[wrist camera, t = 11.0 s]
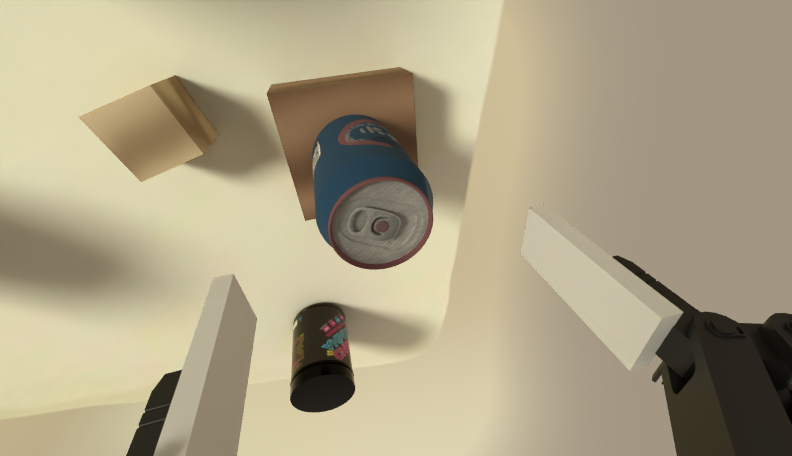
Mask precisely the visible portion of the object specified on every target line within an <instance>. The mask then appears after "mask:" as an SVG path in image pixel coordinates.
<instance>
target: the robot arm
mask: <svg viewBox="0 0 792 456" xmlns="http://www.w3.org/2000/svg"><path fill="white" fill-rule="evenodd" d="M521 254H522V255H523V257H524V258H525V259H526V260H527V261H528V262H529V263H530V264H531V265H532V266H533V267H534V268H535V269H536V271H538V273H539V274H540V275H541V276H542V277H543V278H544V279H545V280H546V281H547V282H548V283H549V284H550V285H551V287H552V288H553V289H554V290H555V291H556V292H557V293H558V294H559V295H560V296H561V297H562V298H563V299H564V301H565V302H566V303H567V304H568V305H569V306H570V307H571V308H572V309H573V310H574V311H575V312H576V313H577V314H578V316H579V317H580V318H582V320H583V321H584V322H585V323H586V324H587V325H588V326H589V327H590V329H591V330H592V331H593V332H594V333H595V334H596V335H597V336H598V337H599V338H600V339H601V340H602V341H603V342H604V344H605V345H606V346H607V347H608V348H609V349H610V350H611V351H612V352H613V353H614V354H615V355H616V356H617V358H618V359H619V360H620V361H621V362H622V363H623V364H624V365H625V366H626V367H627V368H628V369H629V370H633V369H636V368H639V367H643V366H646V365H648V364H649V363H650V362H651V360H652V359H653V357H654V355H655V354H656V355H657V356H658V357H660V358H661V359H662V360H663V361H662V363H661V364H660V366H659V367H658V369H657V370H656V371H655V373H654V374H653V377H652V381H654V382H656V381H657V380H658V379H659V377H660V376H661V374H662V379H663V382H662V384H663V385H664V389H665V394H666V400H667V405H668V410H669V416H670V421H671V427H672V431H673V437H674V442H675V448H676V453H677V456H792V314H787V313H775V314H773V315H772V316H770V317H769V318H768V319H767V320H766V322H765V323H764V324H751V323H748V324H747V323H737V322H736V321H734V320H732V319H730V318H728V317H726V316H723V315H720V314H717V313H712V312H699V311H698V310H697V309H695V308H694V307H692V306H691V305H690V304H688V303H687V302H686V301H684V300H683V299H682V298H680V297H679V296H678V295H676V294H675V293H673V292H672V291H671V290H669V289H668V288H667V287H665V286H664V285H663V284H661V283H660V282H659V281H656V279H654V278H653V277H651V276H650V275H649V274H646V273H645V271H644V270H642V269H641V268H640V267H638V266H637V265H635V264H634V263H633V262H631V261H628V260H626V259H624V258H622V257H620V256H613V257H611V256H610V255H609V254H607V253H606V252H605V251H603V250H602V249H601V248H600V247H598V246H597V245H596V244H594V243H593V242H592V241H590V240H589V239H588V238H587V237H585V236H584V235H583V234H581V233H580V232H579V231H577V230H576V229H575V228H574V227H572V226H571V225H570V224H568V223H567V222H566V221H564V220H563V219H562V218H561V217H559V216H558V215H557V214H555V213H554V212H553V211H552V210H550V209H549V208H547V207H546V206H545V205H540V206H535V207H531V208H529V211H528V217H527V222H526V227H525V233H524V238H523V244H522V249H521ZM256 322H257V318H256V316H255V314H254V312H253V310H252V308H251V306H250V304H249V302H248V300H247V299H246V297H245V295H244V293H243V291H242V289H241V287H240V285H239V283H238V282H237V280H236V278H235V276H234V274H230V275H225V276H221V277H217V278H213V280H212V283H211V286H210V289H209V292H208V295H207V298H206V301H205V304H204V307H203V310H202V313H201V316H200V319H199V322H198V325H197V328H196V331H195V334H194V337H193V340H192V343H191V346H190V349H189V351H188V354H187V357H186V360H185V363H184V366H183V369H182V370H179V371H176V372H172V373H168V374H165V375H164V376H163V378H162V379H161V380H160V382H159V383H158V384H157V386H156V387H155V388H154V390H153V391H152V393H151V395H150V398H149V400H148V403H147V405H146V408H145V413H143V415H142V418H141V420H140V423H139V428H138V429H137V430H136V433H135V435H134V438H133V440H132V443H131V445H130V448H129V450H128V453H127V455H126V456H237V451H238V444H239V437H240V431H241V423H242V417H243V410H244V403H245V397H246V389H247V383H248V376H249V369H250V363H251V356H252V349H253V342H254V335H255V328H256Z"/></svg>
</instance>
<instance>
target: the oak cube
mask: <svg viewBox="0 0 792 456" xmlns="http://www.w3.org/2000/svg"><path fill="white" fill-rule="evenodd" d="M79 118H80V119H81V120H82V121H83V122H84V123H85V124H86V125H87V126H88V127H89V129H90V130H91V131H92V132H93V133H94V134H95V135H96V136H97V137H98V138H99V139H100V140H101V141H102V142H103V143H104V144H105V145H106V146H107V147H108V148H109V149H110V150H111V151H112V152H113V153H114V154H115V155H116V156H117V157H118V159H119V160H120V161H121V162H122V163H123V164H124V165H125V166H126V167H127V168H128V169H129V170H130V171H131V172H132V173H133V174H134V175H135V176H136V177H137V178H138V179H139V180H140V181H141V182H142V181H144V180H147V179H149V178H151V177H153V176H156V175H158V174H160V173H162V172H165V171H167V170H169V169H171V168H174V167H176V166H178V165H180V164H183V163H185V162H187V161H189V160H192V159H194V158H196V157H198V156H201V155H203V154H204V153H205V152H206V150H207V149H208V148H209V147H210V145H211V144H212V143H213V141H214V140H215V139H216V138H217V136H218V133H217V132H216V131H215V129H214V128H213V126H212V125H211V124H210V122H209V121H208V120H207V118H206V117H205V115H204V114H203V113H202V111H201V110H200V108H199V107H198V106H197V104H196V103H195V101H194V100H193V99H192V97H191V96H190V95H189V93H188V92H187V90H186V89H185V88H184V86H183V85H182V83H181V82H180V81H179V79H178V78H177V76H176V75H175V76H173V77H170V78H168V79H165V80H162V81H160V82H157V83H155V84H152V85H150V86H148V87H145V88H143V89H141V90H139V91H136V92H134V93H132V94H130V95H127V96H125V97H123V98H121V99H118V100H116V101H114V102H112V103H109V104H107V105H105V106H102V107H100V108H98V109H96V110H93V111H91V112H89V113H87V114H84V115H82V116H80V117H79Z"/></svg>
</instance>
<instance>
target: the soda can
mask: <svg viewBox="0 0 792 456" xmlns="http://www.w3.org/2000/svg"><path fill="white" fill-rule="evenodd" d="M312 166H313V182H314V198H315V214H316V222H317V225H318V228H319V231H320V233H321V235H322V236H323V238H324V239H325V240H326V242H327V243H328V244H329V245H330V246H331V247H332V248H334V250H335V251H336V253H337V254H338V255H339V256H340V257H341V258H342V259H343V260H345V261H346V262H348V263H350V264H351V265H354V266H356V267H360V268H364V269H385V268H390V267H393V266H396V265H399V264H401V263H403V262H405V261H407V260H408V259H410V258H411V257H412V256H414V255H415V254H416V253H417V252H418V251H419V250H420V249H421V248H422V247H423V245H424V244H425V243H426V241H427V239H428V237H429V235H430V233H431V229H432V225H433V212H432V210H433V196H432V191H431V187H430V185H429V182H428V181H427V179H426V177H425V176H424V174H423V173H422V172H421V171H420V169H419V168H418V167H417V165H416V164H415V163H414V162H413V160H412V159H411V158H410V156H409V155H408V154H407V153H406V151H405V150H404V149H403V148H402V146H401V145H400V144H399V142H398V141H397V140H396V139H395V137H394V136H393V135H392V133H391V132H390V131H389V130H388V128H387V127H386V126H385V125H383V124H382V123H381V122H379V121H378V120H376V119H374V118H372V117H369V116H365V115H358V114H353V115H346V116H342V117H339V118H337V119H335V120H333V121H332V122H330V123H329V124H327V125H326V126H325V127H324V128H323V129H322V130H321V132H320V133H319V135H318V136H317V138H316V140H315V143H314V146H313V150H312Z"/></svg>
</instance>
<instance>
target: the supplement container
mask: <svg viewBox="0 0 792 456" xmlns="http://www.w3.org/2000/svg"><path fill="white" fill-rule="evenodd" d="M290 386H291V393H290V394H291V395H290V401H291V403H292V405H293V406H294V407H295V408H297V409H299V410H301V411H305V412H323V411H328V410H332V409H334V408H337V407H339V406H341V405H343V404H344V403H346V402H347V401H348V400H349V399H350V398H351V397H352V396H353V394H354V392H355V383H354V374H353V370H352V363H351V356H350V349H349V342H348V334H347V327H346V320H345V315H344V313H343V312H342V311H341V310H340V309H339V308H338V307H336V306H334V305H332V304H327V303H317V304H313V305H310V306H308V307H306V308H304V309H303V310H301V311H300V312H299V313H298V314H297V316H296V318H295V320H294V323H293V347H292V374H291V384H290Z"/></svg>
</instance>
